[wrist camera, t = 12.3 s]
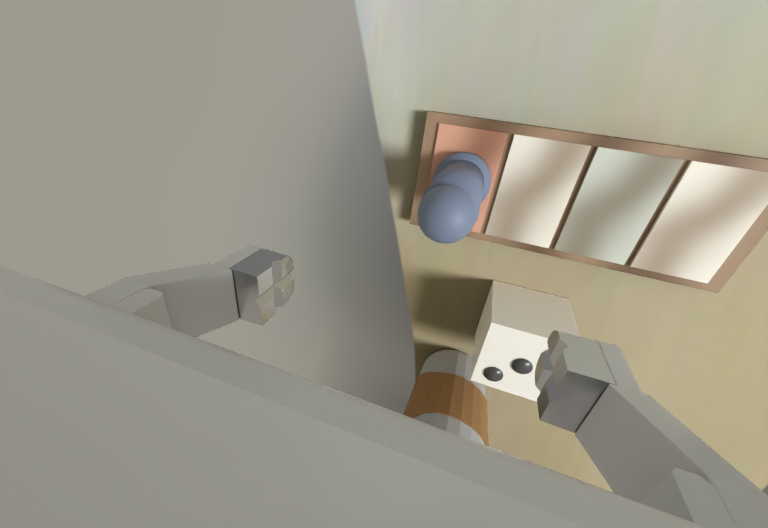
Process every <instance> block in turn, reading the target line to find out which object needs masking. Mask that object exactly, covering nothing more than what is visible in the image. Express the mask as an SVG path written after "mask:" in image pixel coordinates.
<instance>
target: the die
mask: <svg viewBox="0 0 768 528" xmlns="http://www.w3.org/2000/svg"><path fill="white" fill-rule="evenodd" d="M554 330H556V331H560V332H564V333H568V334H572V335H576V336H580V333H579V330H578V327H577V324H576V321H575V318H574V315H573V312H572V309H571V306H570V303H569V300H568V299H567V298H563V297H559V296H555V295H551V294H547V293H543V292H539V291H535V290H531V289H527V288H523V287H519V286H515V285H511V284H507V283H503V282H499V281H495V280H493V282H492V285H491V288H490V291H489V294H488V297H487V300H486V303H485V306H484V309H483V312H482V315H481V318H480V321H479V324H478V327H477V330H476V333H475V342H474V351H473V361H472V370H471V379H470V380H472V381H475V382H478V383H481V384H484V385H487V386H490V387H493V388H496V389H499V390H502V391H505V392H509V393H512V394H515V395H518V396H521V397H524V398H527V399H530V400H533V401H536V402H537V398H538V396H539V394H540V391H539V390H538V388H537V387H536V386H535V369H536V365H537V361H538V359H539V357H540V354H541V353H542V352H544V351H546V350H548V343H547V340H548V338H549V336H550V334H551V333H552V332H553V331H554ZM580 337H581V336H580Z"/></svg>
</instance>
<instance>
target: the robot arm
mask: <svg viewBox="0 0 768 528" xmlns="http://www.w3.org/2000/svg"><path fill="white" fill-rule="evenodd" d="M292 269H293V260H292V258H291V257H290V256H287V255H284V254H280V253H277V252H273V251H270V250H267V249H263V248H260V247H256V246H252V245H247V246H246V247H244V248H242V249H240V250H238V251H237V252H235V253H233V254H231V255H229V256H228V257H226V258H224V259H222V260H220V261H219V262H217V263H215V264H211V263H208V264H201V265H196V266H190V267H184V268H178V269H172V270H167V271H162V272H155V273H149V274H143V275H138V276H132V277H127V278H123V279H120V280H118V281H116V282H114V283H112V284H110V285H108V286H105V287H103V288H101V289H99V290H97V291H95V292H93V293H90V294H88V295H86V296H83V295H80V294H77V293H75V292H72V291H69V290H66V289H64V288H61V287H58V286H56V285H53V284H50V283H47V282H45V281H42V280H40V279H37V278H34V277H32V276H29V275H26V274H24V273H21V272H18V271H15V270H13V269H10V268H7V267H5V266H2V265H0V528H768V496H767V495H766V494H765V493H763V492H762V491H761V490H760V489H759V488H758V487H756V486H755V485H754V484H753V483H752V482H751V481H749V480H748V479H747V478H746V477H745V476H743V475H742V474H741V473H740V472H739V471H738V470H736V469H735V468H734V467H733V466H732V465H731V464H729V463H728V462H727V461H726V460H725V459H723V458H722V457H721V456H720V455H719V454H718V453H716V452H715V451H714V450H713V449H712V448H711V447H709V446H708V445H707V444H706V443H705V442H703V441H702V440H701V439H700V438H699V437H698V436H696V435H695V434H694V433H693V432H692V431H691V430H689V429H688V428H687V427H686V426H685V425H683V424H682V423H681V422H680V421H679V420H678V419H676V418H675V417H674V416H673V415H672V414H671V413H669V412H668V411H667V410H666V409H665V408H663V407H662V406H661V405H660V404H659V403H658V402H656V401H655V400H654V399H653V398H652V397H651V396H649V395H646V394H643V393H642V392H641V390H640V388H639V386H638V384H637V382H636V380H635V378H634V376H633V374H632V372H631V369H630V367H629V365H628V363H627V361H626V359H625V357H624V355H623V353H622V351H621V349H620V348H619V347H618V346H616V345H613V344H609V343H605V342H600V341H596V340H591V339H588V338H584V337H580V336H576V335H572V334H568V333H564V332H560V331H556V330H554V331H553V332H552V333H551V334H550V336H549V338H548V340H547V343H548V350H546V351H544V352H542V353H541V354H540V357H539V359H538V361H537V365H536V369H535V386H536V387H537V388H538V390H539V391H540V394H539V396H538V398H537V403H538V411H539V419H540V420H541V421H544V422H546V423H549V424H552V425H555V426H557V427H560V428H563V429H565V430H568V431H571V432H574V433H575V436H576V437H577V439H578V440H579V441H580V443H581V444H582V446H583V447H584V449H585V450H586V452H587V453H588V455H589V456H590V458H591V459H592V461H593V462H594V464H595V465H596V466H597V468H598V469H599V471H600V472H601V474H602V475H603V477H604V478H605V480H606V481H607V483H608V484H609V486H610V487H611V489H612V490H613V492H614V493H612V492H610V491H607V490H604V489H601V488H599V487H596V486H593V485H591V484H588V483H585V482H583V481H580V480H577V479H575V478H572V477H569V476H567V475H564V474H561V473H558V472H556V471H553V470H550V469H548V468H545V467H542V466H540V465H537V464H534V463H532V462H529V461H526V460H524V459H521V458H518V457H515V456H513V455H510V454H507V453H505V452H502V451H499V450H497V449H494V448H491V447H489V446H486V445H483V444H481V443H478V442H475V441H472V440H470V439H467V438H464V437H462V436H459V435H456V434H454V433H451V432H448V431H446V430H443V429H440V428H438V427H435V426H432V425H429V424H427V423H424V422H421V421H419V420H416V419H413V418H411V417H408V416H405V415H403V414H400V413H397V412H395V411H391V410H389V409H386V408H384V407H381V406H378V405H376V404H373V403H370V402H368V401H365V400H362V399H360V398H357V397H354V396H351V395H349V394H346V393H344V392H341V391H338V390H335V389H333V388H330V387H328V386H325V385H322V384H319V383H317V382H314V381H311V380H309V379H306V378H303V377H301V376H298V375H295V374H293V373H290V372H287V371H284V370H282V369H279V368H276V367H274V366H271V365H268V364H265V363H263V362H260V361H257V360H255V359H252V358H249V357H246V356H244V355H241V354H238V353H236V352H233V351H230V350H227V349H225V348H222V347H219V346H217V345H214V344H211V343H209V342H206V341H203V340H201V339H198V338H196V337H198V336H200V335H203V334H205V333H208V332H210V331H212V330H215V329H217V328H220V327H222V326H225V325H227V324H230V323H232V322H234V321H237V320H239V318H240V319H243V320H246V321H250V322H253V323H256V324H259V325H263V324H264V323H265V322H267V321H268V320H269V319H270V318H271V317H272V316H273V315H274V314H275V308H278V307H281V306H284V305H285V304H286V303H287V302H288V301H289V299H290V297H291V295H292V293H293V289H294V279H293V278H292V276H291V275H290V272H291V271H292Z"/></svg>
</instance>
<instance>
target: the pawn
mask: <svg viewBox="0 0 768 528" xmlns="http://www.w3.org/2000/svg"><path fill="white" fill-rule="evenodd" d="M490 183H491V173H490V169H489V167H488V165H487V163H486V162H485V161H484V160H483V159H482V158H481V157H480V156H478V155H477V154H474V153H471V152H457V153H453V154H451V155H449V156H448V157H446V158H445V159H444V160H443V161H442V162H441V163H440V164H439V165H438V167H437V168H436V170H435V172H434V175H433V179H432V184H431V185H430V186H429V188H428V189H427V190H426V191H425V193H424V194H423V196H422V198H421V201H420V204H419V207H418V213H417V218H418V223H419V226H420V228H421V230H422V231H423V233H424V234H425V235H426V236H427V237H428V238H430V239H431V240H433V241H435V242H438V243H454V242H457V241H459V240H461V239H463V238H464V237H465V236H466V235H467V234H468V233H469V232H470V231H471V230H472V228H473V226H474V224H475V223H476V221H477V219H478V215H479V211H480V205H481V202H482V201H483V200H484V199H485V198H486V196H487V194H488V192H489V189H490Z"/></svg>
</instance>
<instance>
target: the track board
mask: <svg viewBox="0 0 768 528" xmlns="http://www.w3.org/2000/svg"><path fill="white" fill-rule="evenodd" d="M457 152H471V153H474V154H477V155H478V156H480V157H481V158H482V159H483V160H484V161H485V162H486V163H487V165H488V167H489V169H490V173H491V183H490V189H489V192H488V194H487V196H486V198H485V199H484V200H483V201H482V202H481V205H480V211H479V215H478V219H477V221H476V223H475V224H474V226H473V228H472V230H471V231H470V232H469V233H468V234H467V235H466V236H467V237H471V238H475V239H480V240H484V241H489V242H493V243H498V244H502V245H506V246H511V247H515V248H520V249H524V250H528V251H533V252H537V253H542V254H546V255H551V256H555V257H559V258H564V259H568V260H573V261H577V262H582V263H586V264H590V265H595V266H599V267H604V268H608V269H612V270H617V271H621V272H626V273H630V274H635V275H639V276H643V277H648V278H652V279H657V280H661V281H666V282H670V283H674V284H679V285H683V286H688V287H692V288H697V289H701V290H705V291H710V292H714V293H718V292H719V291H720V290H721V288H722V287H723V286H724V285H725V283H726V282H727V281H728V280H729V278H730V277H731V276H732V275H733V273H734V272H735V271H736V270H737V268H738V267H739V266H740V265H741V263H742V262H743V261H744V260H745V258H746V257H747V256H748V254H749V253H750V252H751V251H752V249H753V248H754V247H755V246H756V244H757V243H758V242H759V241H760V239H761V238H762V237H763V236H764V234H765V233H766V232H767V231H768V159H767V158H760V157H753V156H746V155H739V154H731V153H724V152H717V151H710V150H703V149H696V148H689V147H682V146H675V145H668V144H661V143H654V142H647V141H640V140H633V139H625V138H618V137H611V136H604V135H597V134H590V133H583V132H576V131H569V130H562V129H555V128H548V127H541V126H534V125H527V124H519V123H512V122H505V121H498V120H491V119H484V118H477V117H470V116H463V115H456V114H449V113H442V112H435V111H427V117H426V123H425V130H424V136H423V142H422V149H421V155H420V161H419V167H418V174H417V180H416V186H415V192H414V199H413V205H412V211H411V218H410V224H414V225H418V226H419V223H418V218H417V213H418V207H419V204H420V201H421V198H422V196H423V194H424V193H425V191H426V190H427V189H428V188H429V186H430V185H431V184H432V179H433V175H434V172H435V170H436V168H437V167H438V165H439V164H440V163H441V162H442V161H443V160H444V159H445V158H446V157H448V156H449V155H451V154H453V153H457Z"/></svg>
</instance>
